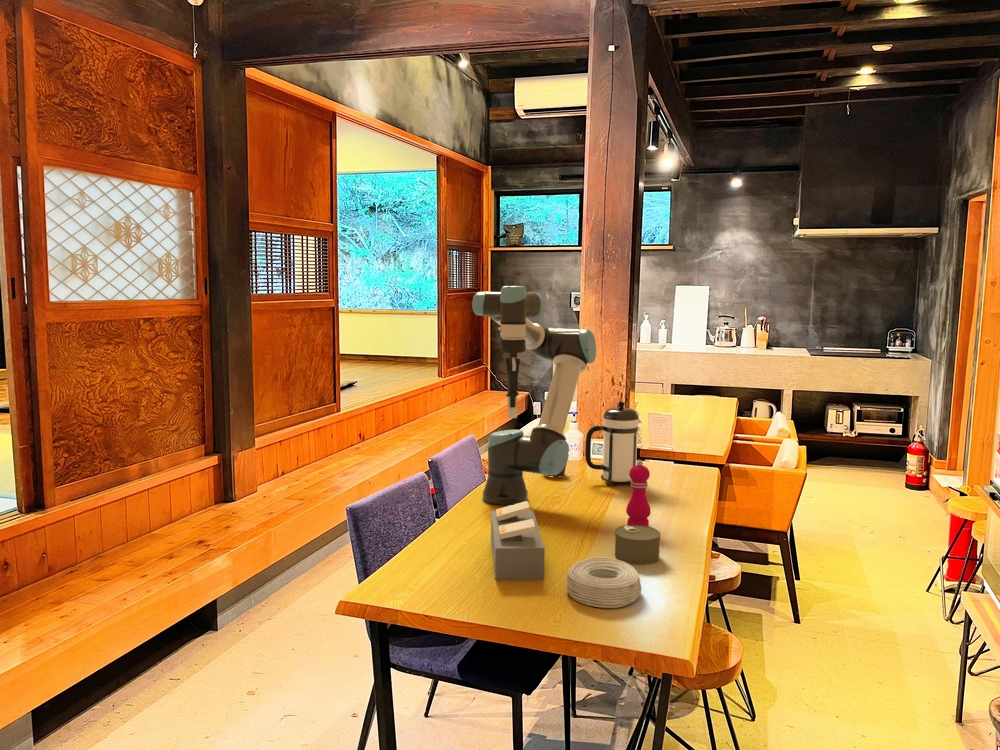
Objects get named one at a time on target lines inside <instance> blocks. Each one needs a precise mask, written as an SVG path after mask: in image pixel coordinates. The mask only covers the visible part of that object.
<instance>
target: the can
mask: <svg viewBox="0 0 1000 750" xmlns="http://www.w3.org/2000/svg"><path fill="white" fill-rule="evenodd" d="M614 537H615V538H614V557H615V559H616V560H620V561H623V562H626V563H628V564H630V565H636V566H645V565H646V564H648V565H653V564H655V563H657V562H658V561H659V559H660V542H661V539H660V538H661V532H660V531H659V530H657V529H656V528H653V527H651V526H648V527H647V526H640V525H628V524H627V525H621V526H618V527H617V528H615V529H614ZM652 563H653V564H652ZM646 566H647V565H646Z"/></svg>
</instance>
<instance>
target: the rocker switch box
mask: <svg viewBox="0 0 1000 750" xmlns="http://www.w3.org/2000/svg"><path fill="white" fill-rule="evenodd" d="M529 519H533V521H534V524H535V528H536V532H532V533H527V534H522V535H518V536H513V537H508V538H504V539H501V537H500V531H499V526H501V525H506V524H510V523H515V522H520V521H524V520H529ZM490 540H491V551H492V559H493V560H492V561H493V562H492V563H493V569H494V571H493V572H494V579H495V580H496V581H503V580H505V581H506V580H507V581H513V580H545V551H546V550H545V548H546V547H545V544H544V542H543V539H542V534H541V531H540V528H539V525H538V522H537V518H536V516H535V512H534V510H530V512H529V513H525V514H522V515H518V516H515V517H511V518H508V519H504V520H500V521H498V517H497V512H496V510H491V511H490Z"/></svg>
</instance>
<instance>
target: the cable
mask: <svg viewBox="0 0 1000 750" xmlns="http://www.w3.org/2000/svg"><path fill="white" fill-rule="evenodd" d="M566 591H567V593H568V595H569V596H570V597H571V598H572V599H573V600H575V601H577V602H579V603H580V604H583V605H586V606H589V607H595V608H600V609H601V608H603V609H617V608H622V607H625V606H627V605H630V604H632V603H635V602H636V601H637V600H638V598H639V597H640V596H641V593H642V584H641V579H640V576H639V572H637V570H636V568H635V567H634V566H632V564H628V563H626V562H623V561H620V560H618V559H617V558H611V557H601V556H599V557H590V558H589V557H588V558H585V559H583V560H580V561H577V562H576V563H574V564H572V566H571V567H570V568H569V569H568V570H567V574H566Z"/></svg>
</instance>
